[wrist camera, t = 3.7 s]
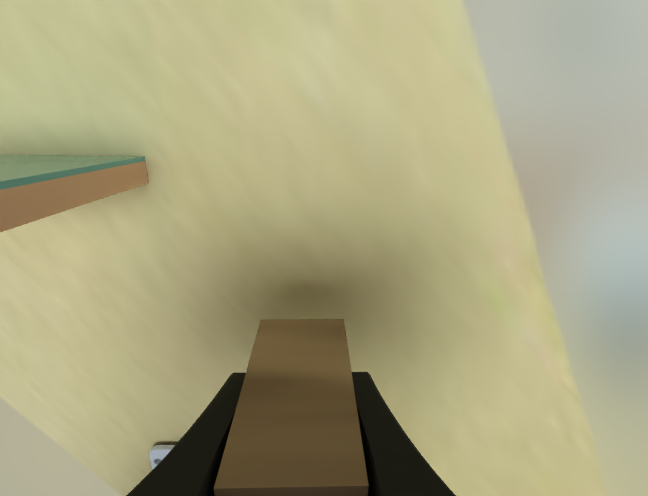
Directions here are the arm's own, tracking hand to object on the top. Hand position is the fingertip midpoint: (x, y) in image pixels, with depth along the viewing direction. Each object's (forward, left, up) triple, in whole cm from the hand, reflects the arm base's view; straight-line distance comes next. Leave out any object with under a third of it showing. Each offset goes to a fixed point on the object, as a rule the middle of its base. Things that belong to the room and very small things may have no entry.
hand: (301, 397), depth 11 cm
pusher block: (0, 0, -2) cm, 2 cm away
